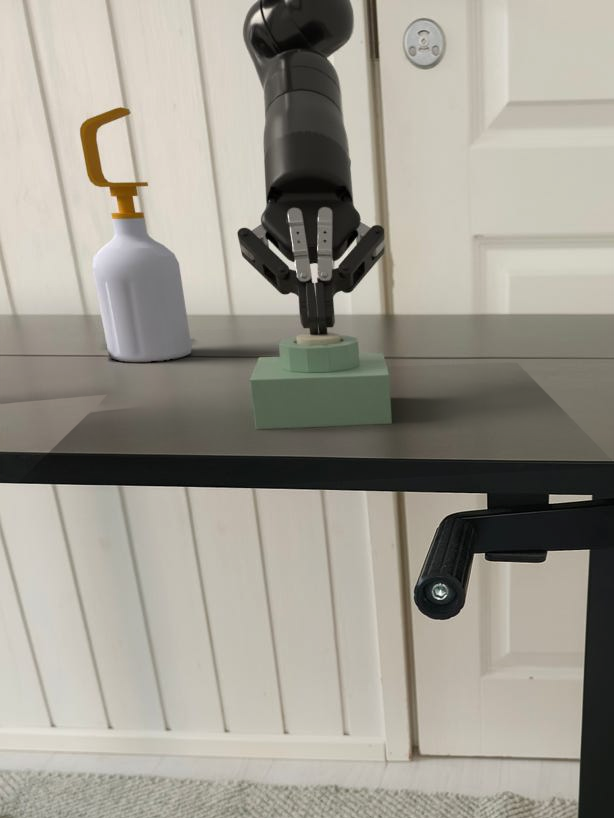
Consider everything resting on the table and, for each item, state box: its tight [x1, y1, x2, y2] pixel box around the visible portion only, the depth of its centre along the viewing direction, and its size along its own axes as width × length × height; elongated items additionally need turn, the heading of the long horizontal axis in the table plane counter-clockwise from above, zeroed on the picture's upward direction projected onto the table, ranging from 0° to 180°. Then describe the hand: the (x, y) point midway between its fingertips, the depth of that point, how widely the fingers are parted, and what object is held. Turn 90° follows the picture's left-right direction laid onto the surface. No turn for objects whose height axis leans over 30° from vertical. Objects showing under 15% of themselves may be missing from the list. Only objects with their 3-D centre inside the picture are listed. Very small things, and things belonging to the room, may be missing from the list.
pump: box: [295, 332, 341, 345], centre depth 76 cm, size 4×4×2 cm
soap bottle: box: [79, 107, 193, 363], centre depth 99 cm, size 9×9×25 cm
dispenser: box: [249, 334, 393, 431], centre depth 78 cm, size 11×10×6 cm
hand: (318, 328), depth 76 cm, fingers closed
